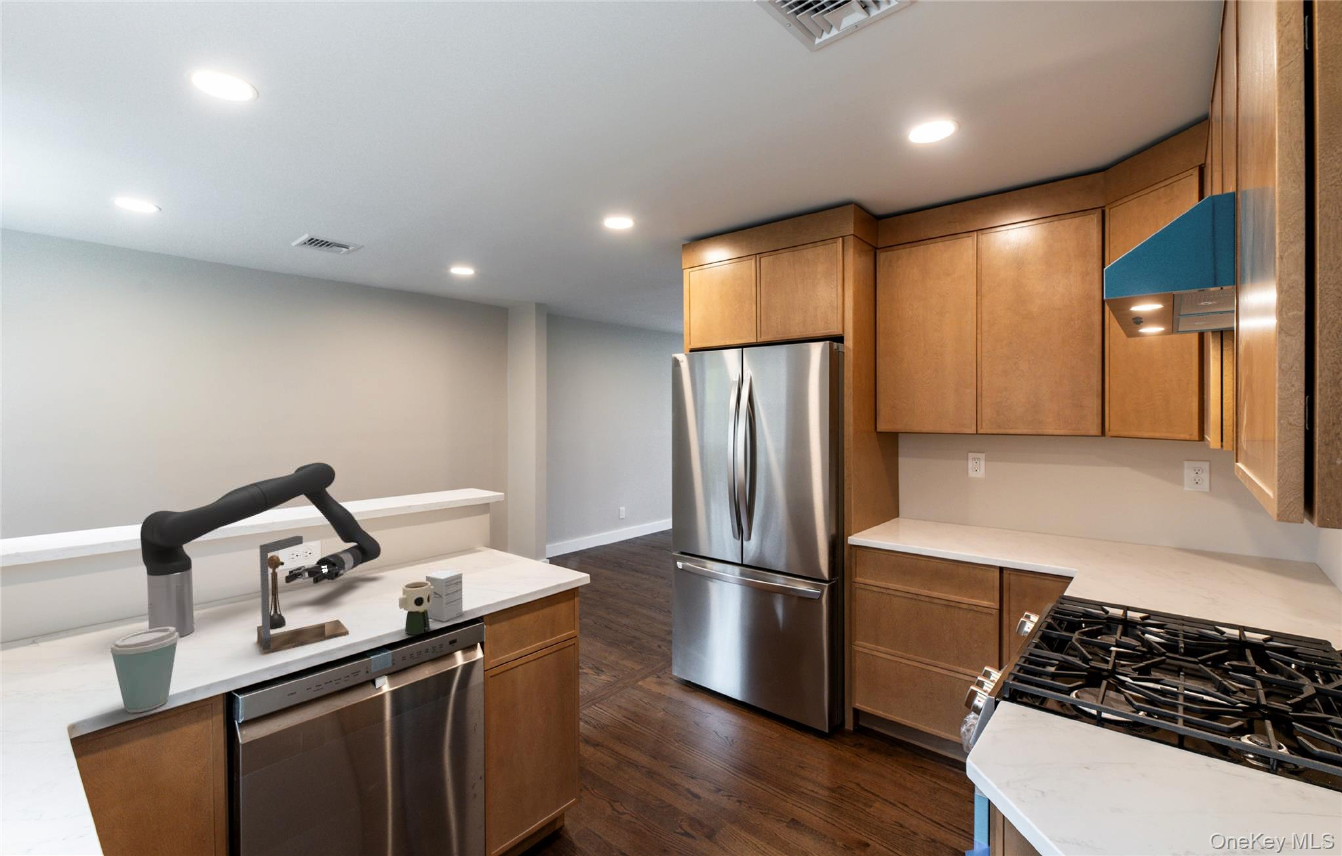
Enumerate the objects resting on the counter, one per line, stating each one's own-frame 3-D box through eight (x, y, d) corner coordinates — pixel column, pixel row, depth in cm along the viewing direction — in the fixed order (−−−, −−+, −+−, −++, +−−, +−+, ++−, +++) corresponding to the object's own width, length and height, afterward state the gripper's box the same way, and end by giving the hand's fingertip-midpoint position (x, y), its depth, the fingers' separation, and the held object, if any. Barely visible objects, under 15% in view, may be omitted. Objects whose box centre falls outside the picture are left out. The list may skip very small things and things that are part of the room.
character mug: (409, 641, 155) (408, 592, 154) (391, 636, 158) (390, 588, 157) (443, 627, 164) (442, 581, 164) (425, 623, 167) (424, 577, 167)
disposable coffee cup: (99, 722, 116) (96, 646, 115) (132, 696, 126) (129, 626, 125) (164, 714, 119) (161, 640, 118) (191, 689, 129) (188, 621, 128)
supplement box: (425, 618, 171) (424, 575, 171) (445, 610, 178) (445, 568, 177) (443, 622, 168) (442, 578, 167) (463, 614, 174) (463, 571, 174)
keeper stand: (263, 654, 147) (260, 546, 145) (257, 640, 155) (254, 538, 154) (348, 634, 159) (346, 535, 158) (338, 622, 167) (336, 528, 166)
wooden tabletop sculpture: (292, 625, 166) (290, 554, 165) (275, 631, 162) (273, 558, 161) (278, 622, 168) (276, 552, 167) (261, 627, 164) (259, 556, 163)
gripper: (313, 553, 191) (276, 567, 175) (355, 554, 190) (323, 568, 174) (313, 576, 191) (277, 592, 175) (356, 577, 190) (323, 593, 174)
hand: (300, 580), depth 174 cm, fingers open, 8 cm apart
